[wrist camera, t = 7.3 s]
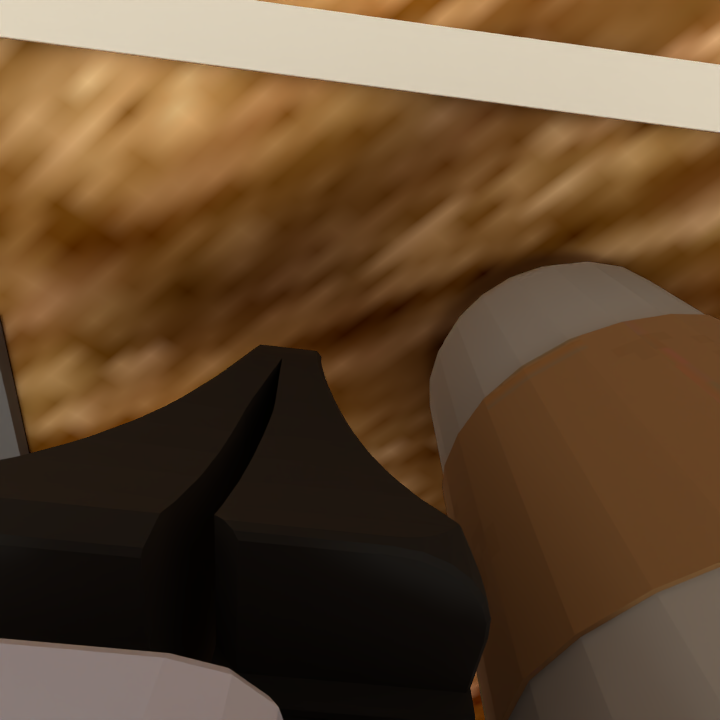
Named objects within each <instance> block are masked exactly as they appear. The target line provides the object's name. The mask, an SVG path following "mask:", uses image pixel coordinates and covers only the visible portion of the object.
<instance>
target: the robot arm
mask: <svg viewBox="0 0 720 720" xmlns="http://www.w3.org/2000/svg"><path fill="white" fill-rule="evenodd" d="M490 623H491V616H490V612H489V605H488V600H487V596H486V591H485V588H484V584H483V581H482V578H481V575H480V572H479V569H478V567H477V564H476V562H475V559H474V557H473V554H472V552H471V549H470V547H469V545H468V542H467V540H466V537H465V535H464V533H463V531H462V528H461V526H460V525H459V524H458V523H457V522H455V521H454V520H452V519H451V518H449V517H448V516H446V515H445V514H443V513H442V512H440V511H438V510H437V509H435V508H434V507H432V506H431V505H429V504H428V503H426V502H425V501H423V500H422V499H420V498H419V497H417V496H416V495H415V494H414V493H412V492H411V491H410V490H409V489H407V488H406V487H405V486H404V485H402V484H401V483H400V482H399V481H397V480H396V479H395V478H394V477H393V476H392V475H391V474H389V473H388V472H387V471H386V470H385V469H384V468H383V467H382V466H381V465H380V464H379V463H378V462H377V461H376V460H375V459H374V458H373V457H372V456H371V454H370V453H369V452H368V451H367V450H366V448H365V447H364V446H363V445H362V443H361V442H360V441H359V439H358V438H357V437H356V435H355V434H354V433H353V431H352V430H351V428H350V427H349V425H348V423H347V422H346V420H345V418H344V417H343V415H342V413H341V411H340V410H339V408H338V406H337V404H336V402H335V400H334V398H333V396H332V393H331V391H330V389H329V387H328V384H327V381H326V379H325V376H324V372H323V369H322V364H321V356H320V354H319V353H318V352H317V351H312V350H303V349H294V348H285V347H277V346H268V345H259V346H258V347H256V348H255V349H253V350H252V351H251V352H249V353H248V354H247V355H245V356H244V357H243V358H241V359H240V360H239V361H237V362H236V363H234V364H233V365H232V366H230V367H229V368H228V369H226V370H225V371H223V372H222V373H220V374H219V375H218V376H216V377H215V378H213V379H212V380H210V381H208V382H207V383H205V384H203V385H202V386H200V387H198V388H197V389H195V390H193V391H192V392H190V393H188V394H187V395H185V396H184V397H182V398H180V399H178V400H176V401H174V402H172V403H170V404H169V405H167V406H165V407H163V408H160V409H158V410H156V411H154V412H152V413H150V414H147V415H145V416H143V417H141V418H138V419H136V420H134V421H131V422H128V423H125V424H123V425H120V426H117V427H115V428H112V429H109V430H106V431H104V432H101V433H98V434H96V435H93V436H90V437H87V438H84V439H80V440H77V441H74V442H70V443H67V444H64V445H60V446H56V447H52V448H49V449H45V450H41V451H37V452H33V453H29V454H25V455H21V456H16V457H12V458H7V459H2V460H0V720H475V713H474V707H473V701H472V696H471V690H470V687H471V684H472V681H473V679H474V676H475V673H476V670H477V668H478V665H479V662H480V659H481V657H482V654H483V651H484V648H485V646H486V643H487V640H488V636H489V630H490Z"/></svg>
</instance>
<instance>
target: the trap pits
mask: <svg viewBox="0 0 720 720" xmlns="http://www.w3.org/2000/svg"><path fill="white" fill-rule="evenodd" d="M25 454H29V450H28V445H27V441H26V436H25V432H24V427H23V422H22V418H21V413H20V409H19V404H18V400H17V395H16V390H15V386H14V381H13V377H12V372H11V367H10V363H9V358H8V354H7V349H6V344H5V340H4V335H3V331H2V326H1V322H0V460H2V459H7V458H12V457H16V456H21V455H25Z"/></svg>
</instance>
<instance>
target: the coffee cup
mask: <svg viewBox="0 0 720 720" xmlns="http://www.w3.org/2000/svg"><path fill="white" fill-rule="evenodd" d="M430 409H431V414H432V419H433V424H434V430H435V435H436V440H437V445H438V450H439V455H440V460H441V465H442V470H443V485H442V489H443V494H444V500H445V505H446V510H447V516H448V517H449V518H451V519H452V520H454V521H455V522H457V523H458V524H459V525H460V526H461V528H462V531H463V533H464V535H465V537H466V540H467V542H468V545H469V547H470V549H471V552H472V554H473V557H474V559H475V562H476V564H477V567H478V569H479V572H480V575H481V578H482V581H483V584H484V588H485V591H486V596H487V600H488V605H489V612H490V616H491V623H490V630H489V636H488V640H487V643H486V646H485V648H484V651H483V654H482V657H481V659H480V662H479V665H478V668H477V670H476V672H477V677H478V683H479V688H480V694H481V699H482V704H483V710H484V715H485V720H720V320H719V319H716V318H714V317H712V316H710V315H705V314H703V313H702V312H700V311H698V310H697V309H695V308H694V307H692V306H690V305H689V304H687V303H685V302H684V301H682V300H680V299H679V298H677V297H675V296H674V295H672V294H671V293H669V292H667V291H666V290H664V289H662V288H661V287H659V286H657V285H656V284H654V283H652V282H651V281H649V280H647V279H645V278H643V277H641V276H639V275H637V274H635V273H633V272H631V271H630V270H628V269H626V268H624V267H620V266H614V265H608V264H601V263H595V262H579V263H569V264H560V265H551V266H542V267H539V268H536V269H533V270H530V271H527V272H524V273H521V274H519V275H516V276H513V277H510V278H508V279H507V280H505V281H503V282H502V283H500V284H499V285H497V286H495V287H494V288H492V289H490V290H489V291H487V292H486V293H484V294H482V295H481V296H480V297H479V298H478V299H477V300H476V301H475V302H474V303H473V304H472V305H471V306H470V307H469V308H468V309H467V310H466V311H465V312H464V313H463V314H462V315H461V316H460V317H459V318H458V320H457V321H456V323H455V325H454V326H453V328H452V329H451V331H450V332H449V334H448V336H447V337H446V339H445V340H444V343H443V345H442V346H441V348H440V349H439V351H438V354H437V357H436V360H435V364H434V367H433V370H432V373H431V377H430Z"/></svg>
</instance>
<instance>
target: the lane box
mask: <svg viewBox="0 0 720 720" xmlns="http://www.w3.org/2000/svg"><path fill="white" fill-rule="evenodd" d="M0 38H7V39H15V40H22V41H30V42H37V43H45V44H52V45H60V46H68V47H75V48H83V49H90V50H98V51H105V52H113V53H120V54H128V55H135V56H143V57H150V58H158V59H165V60H173V61H180V62H188V63H195V64H203V65H210V66H218V67H226V68H233V69H241V70H248V71H256V72H263V73H271V74H278V75H286V76H293V77H301V78H308V79H316V80H323V81H331V82H338V83H346V84H353V85H361V86H369V87H376V88H384V89H391V90H399V91H406V92H414V93H421V94H429V95H436V96H444V97H451V98H459V99H466V100H474V101H481V102H489V103H496V104H504V105H512V106H519V107H527V108H534V109H542V110H549V111H557V112H564V113H572V114H579V115H587V116H594V117H602V118H609V119H617V120H624V121H632V122H639V123H647V124H654V125H662V126H670V127H677V128H685V129H692V130H700V131H707V132H715V133H720V65H718V64H711V63H704V62H697V61H689V60H682V59H675V58H668V57H660V56H653V55H646V54H639V53H632V52H624V51H617V50H610V49H603V48H595V47H588V46H581V45H574V44H567V43H559V42H552V41H545V40H538V39H530V38H523V37H516V36H509V35H502V34H494V33H487V32H480V31H473V30H465V29H458V28H451V27H444V26H436V25H429V24H422V23H415V22H408V21H400V20H393V19H386V18H379V17H371V16H364V15H357V14H350V13H343V12H335V11H328V10H321V9H314V8H306V7H299V6H292V5H285V4H278V3H270V2H263V1H256V0H0Z"/></svg>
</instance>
